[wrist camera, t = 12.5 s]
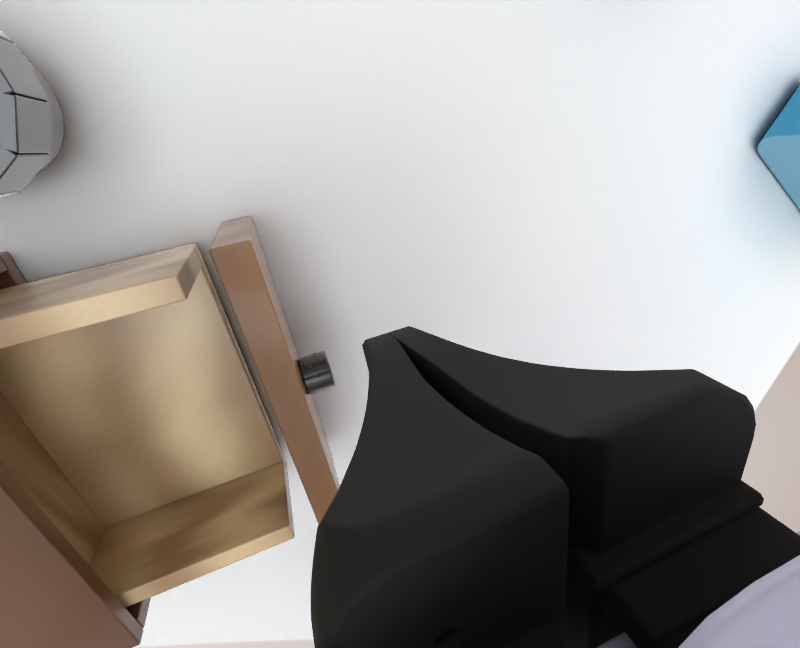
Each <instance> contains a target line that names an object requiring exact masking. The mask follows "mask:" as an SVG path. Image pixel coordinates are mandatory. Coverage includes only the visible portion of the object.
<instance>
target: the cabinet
mask: <svg viewBox="0 0 800 648" xmlns="http://www.w3.org/2000/svg"><path fill="white" fill-rule="evenodd" d="M24 283H27V282H26V281H25V279H24V277H23V276H22V274H21V273H20V271H19V270H18V268H17V266H16V265H15V263H14V262H13V260H12V259H11V257H10V255H9V254H8V253H7V252H1V253H0V289H3V288H7V287H11V286H16V285H20V284H24ZM150 598H151V597H150ZM150 598H147V599H145V600H143V601H140V602H138V603H135V604H133V605H130V606H128V607H126V608H125V607H124V606H123V604H122V603H121V602H120V601H119V600H118V599H117V597H116V596H115V595H114V594H113V593H112V592H111V590H110V589H109V588H108V587H107V586H106V585H105V583H104V582H103V581H102V580H101V579H100V578H99V576H98V575H97V574H96V573H95V572H94V571H93V569H92V568H91V567H90V566H89V565H88V564H87V562H86V561H85V560H84V559H83V558H82V557H81V555H80V554H79V553H78V552H77V551H76V550H75V548H74V547H73V546H72V545H71V544H70V543H69V541H68V540H67V539H66V538H65V537H64V535H63V534H62V533H61V532H60V531H59V530H58V528H57V527H56V526H55V525H54V524H53V523H52V521H51V520H50V519H49V518H48V517H47V516H46V514H45V513H44V512H43V511H42V510H41V509H40V507H39V506H38V505H37V504H36V503H35V502H34V500H33V499H32V498H31V497H30V496H29V495H28V493H27V492H26V491H25V490H24V489H23V488H22V486H21V485H20V484H19V483H18V482H17V481H16V479H15V478H14V477H13V476H12V475H11V474H10V472H9V471H8V470H7V469H6V468H5V467H4V465H3V464H2V463H1V462H0V648H132V647H135V646H137V645H139V644H140V642H141V638H142V633H143V627H144V624H145V620H146V616H147V611H148V607H149V602H150Z"/></svg>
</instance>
